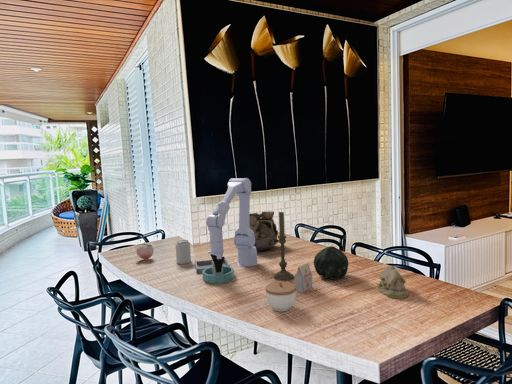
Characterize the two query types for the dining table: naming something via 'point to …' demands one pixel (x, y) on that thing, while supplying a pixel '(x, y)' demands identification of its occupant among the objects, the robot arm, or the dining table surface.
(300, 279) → the milk carton
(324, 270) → the squash
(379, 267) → the dining table surface
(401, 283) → the ceramic model
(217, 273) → the gray rectangular block
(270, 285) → the lidded jar
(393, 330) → the dining table surface
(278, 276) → the candlestick holder
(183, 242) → the can
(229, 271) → the bowl
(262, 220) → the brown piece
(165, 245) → the dining table surface
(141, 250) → the decorative fruit
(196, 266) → the parts tray
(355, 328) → the dining table surface
